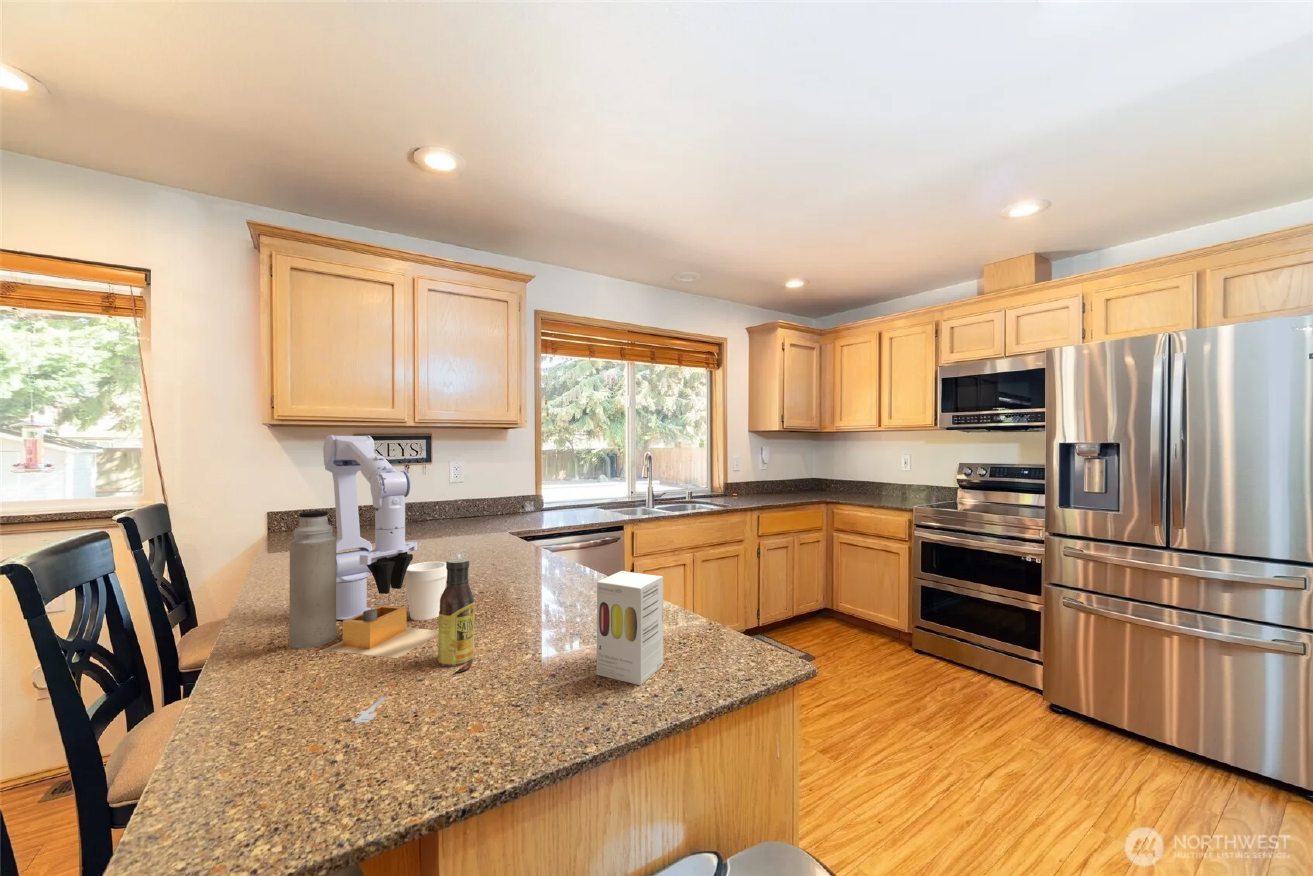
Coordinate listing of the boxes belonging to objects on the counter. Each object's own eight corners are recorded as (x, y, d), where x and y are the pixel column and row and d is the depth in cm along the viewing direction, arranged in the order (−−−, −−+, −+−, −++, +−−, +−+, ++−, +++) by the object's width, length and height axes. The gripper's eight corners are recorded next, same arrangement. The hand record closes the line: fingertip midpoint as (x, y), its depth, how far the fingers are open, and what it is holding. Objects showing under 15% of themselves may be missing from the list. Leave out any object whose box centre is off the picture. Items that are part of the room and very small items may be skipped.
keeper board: (322, 657, 98) (322, 619, 98) (377, 631, 112) (377, 598, 112) (396, 666, 94) (396, 625, 94) (444, 638, 108) (444, 603, 108)
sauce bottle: (461, 676, 90) (461, 565, 90) (430, 673, 91) (430, 564, 91) (481, 661, 96) (481, 557, 96) (452, 658, 97) (452, 556, 98)
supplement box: (594, 675, 90) (594, 581, 90) (620, 656, 98) (620, 569, 98) (642, 686, 86) (641, 587, 86) (664, 665, 94) (664, 574, 94)
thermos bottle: (310, 639, 107) (311, 508, 108) (345, 640, 107) (345, 509, 107) (279, 655, 100) (279, 513, 100) (316, 656, 99) (316, 514, 99)
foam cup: (456, 619, 120) (456, 564, 120) (420, 631, 112) (420, 573, 112) (431, 612, 125) (431, 560, 125) (395, 623, 117) (395, 567, 117)
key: (410, 687, 87) (391, 686, 87) (410, 681, 87) (391, 681, 87) (366, 726, 75) (345, 726, 75) (366, 720, 75) (344, 719, 75)
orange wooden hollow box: (381, 628, 110) (381, 605, 110) (406, 630, 108) (406, 607, 108) (342, 646, 100) (342, 621, 100) (369, 649, 98) (369, 623, 99)
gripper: (380, 534, 100) (380, 602, 100) (429, 523, 115) (428, 582, 114) (350, 533, 102) (350, 600, 102) (402, 522, 116) (402, 581, 116)
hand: (390, 590), depth 108 cm, fingers open, 3 cm apart
